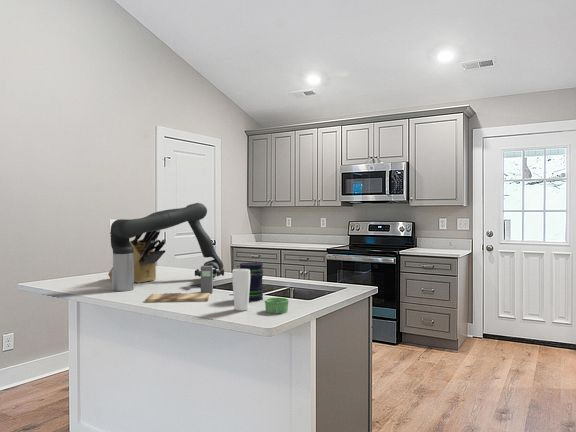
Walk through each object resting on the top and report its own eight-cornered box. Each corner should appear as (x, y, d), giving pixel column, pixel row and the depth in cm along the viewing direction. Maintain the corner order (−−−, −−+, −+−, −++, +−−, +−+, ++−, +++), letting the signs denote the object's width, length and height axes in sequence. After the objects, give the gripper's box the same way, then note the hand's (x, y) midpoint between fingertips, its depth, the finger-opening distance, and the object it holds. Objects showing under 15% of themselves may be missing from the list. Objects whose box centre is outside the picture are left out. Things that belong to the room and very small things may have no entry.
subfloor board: (145, 302, 186) (145, 298, 186) (151, 296, 198) (151, 293, 198) (207, 301, 188) (207, 297, 188) (209, 295, 200) (209, 292, 200)
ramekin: (259, 312, 167) (259, 300, 167) (273, 308, 175) (273, 296, 175) (280, 315, 162) (280, 303, 162) (293, 310, 170) (293, 298, 170)
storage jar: (254, 302, 185) (254, 265, 185) (234, 300, 190) (234, 264, 190) (267, 298, 194) (267, 263, 193) (248, 296, 198) (248, 262, 198)
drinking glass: (236, 312, 167) (236, 271, 167) (229, 308, 173) (229, 269, 173) (253, 310, 170) (253, 270, 170) (246, 307, 176) (246, 268, 176)
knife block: (150, 285, 229) (150, 223, 229) (107, 279, 249) (107, 222, 248) (168, 282, 239) (167, 223, 238) (125, 277, 258) (124, 222, 258)
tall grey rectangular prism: (200, 293, 205) (200, 267, 205) (201, 291, 210) (201, 265, 210) (212, 293, 205) (211, 266, 205) (212, 291, 210) (212, 265, 210)
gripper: (197, 263, 234) (193, 266, 217) (225, 262, 235) (223, 266, 219) (197, 277, 234) (193, 282, 218) (225, 277, 235) (223, 282, 219)
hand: (208, 274), depth 218 cm, fingers open, 8 cm apart
